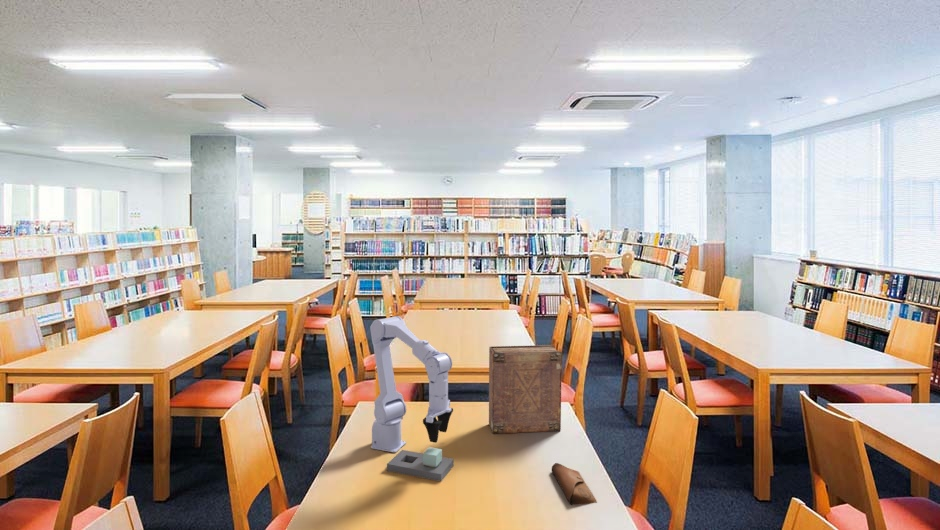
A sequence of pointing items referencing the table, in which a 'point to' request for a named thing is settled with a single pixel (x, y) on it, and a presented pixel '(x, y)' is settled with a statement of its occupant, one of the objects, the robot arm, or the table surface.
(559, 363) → the book
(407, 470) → the grey peg board
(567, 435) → the table surface
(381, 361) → the robot arm
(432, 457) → the plug
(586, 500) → the sunglasses case
